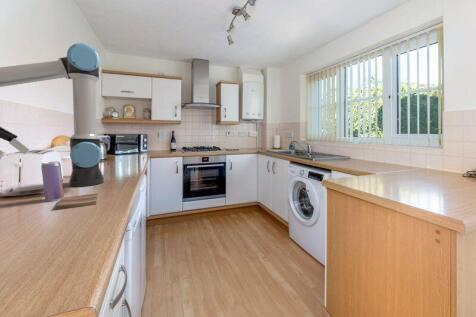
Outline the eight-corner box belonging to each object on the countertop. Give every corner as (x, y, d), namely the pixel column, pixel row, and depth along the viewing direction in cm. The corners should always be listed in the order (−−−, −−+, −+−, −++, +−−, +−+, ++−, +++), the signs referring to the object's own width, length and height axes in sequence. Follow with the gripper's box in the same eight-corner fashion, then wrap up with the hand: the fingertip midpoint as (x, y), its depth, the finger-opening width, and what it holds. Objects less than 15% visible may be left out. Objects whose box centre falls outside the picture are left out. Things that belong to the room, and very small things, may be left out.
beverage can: (53, 202, 90) (49, 163, 88) (41, 201, 91) (36, 163, 89) (67, 197, 95) (64, 161, 93) (55, 196, 96) (51, 161, 95)
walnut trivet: (62, 200, 91) (61, 197, 91) (97, 196, 97) (97, 193, 96) (55, 209, 80) (55, 206, 80) (96, 204, 86) (95, 201, 86)
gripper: (-19, 121, 94) (28, 156, 100) (-88, 117, 70) (-21, 164, 76) (-5, 108, 95) (41, 144, 100) (-68, 100, 71) (-3, 148, 76)
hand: (15, 153), depth 88 cm, fingers open, 13 cm apart
